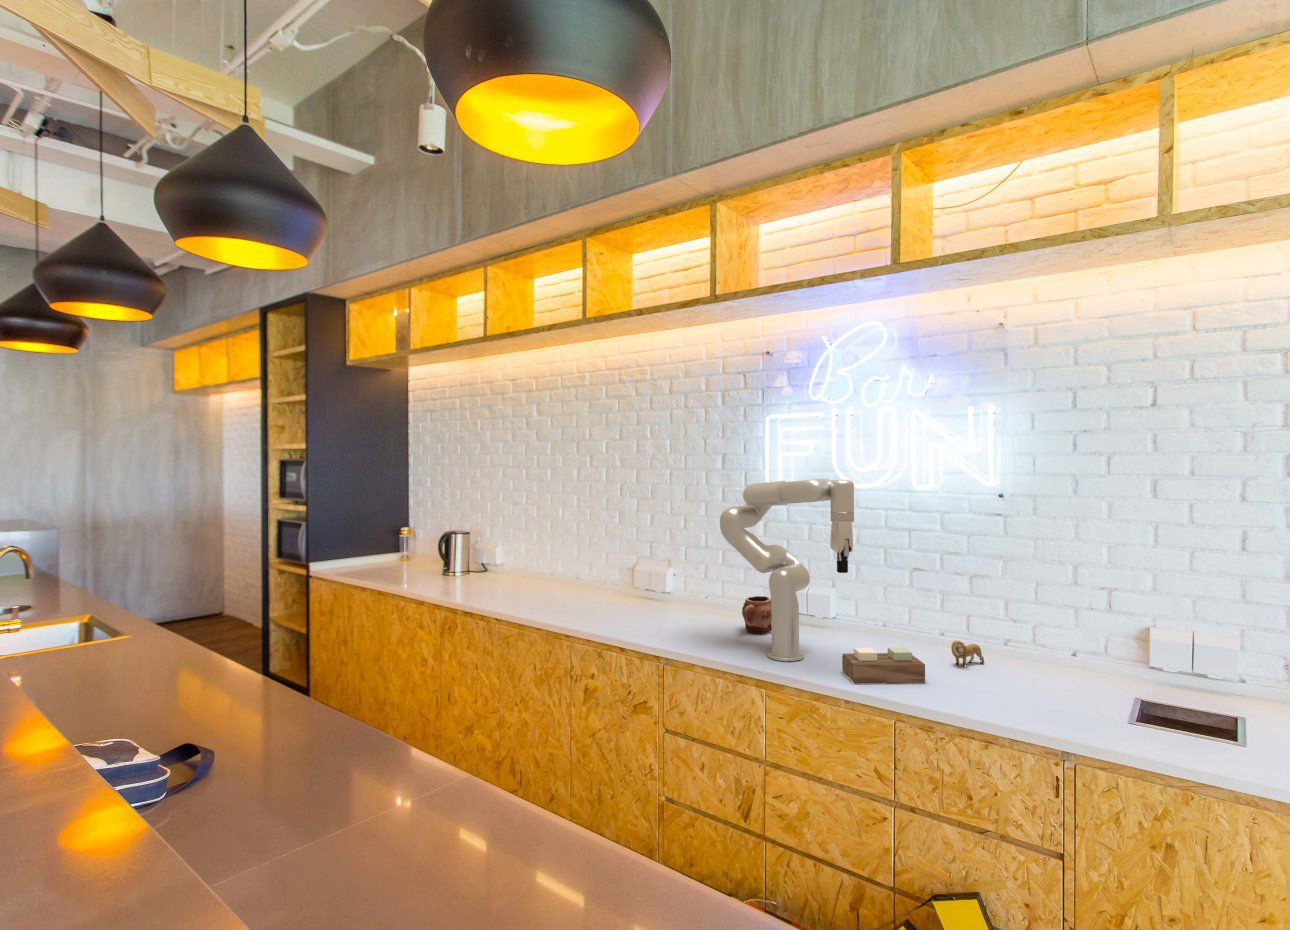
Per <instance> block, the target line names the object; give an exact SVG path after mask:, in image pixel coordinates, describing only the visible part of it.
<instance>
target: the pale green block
mask: <svg viewBox="0 0 1290 930" xmlns="http://www.w3.org/2000/svg"><path fill="white" fill-rule="evenodd" d="M887 653H888V656H889V657H891V658H892V659H893V660H894V661H908V660H912V655H913V652H912V651H911V650H910V649H908V648H906V647H905V646H904V647H903V646H902V647H887Z"/></svg>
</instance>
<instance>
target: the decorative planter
mask: <svg viewBox="0 0 1290 930" xmlns="http://www.w3.org/2000/svg"><path fill="white" fill-rule="evenodd" d="M741 615H742V617H743V620H744V621H743V622H744V625H745V630H746V632H747V633H749V632H750V633H749V634H753V633H755V635H764V634H765V633H766V634H770V633H772V613H771V597H769V596H759V595H758V596H757V595H755V596H750V597H749V596H748V597H746V599H745V601H744V604H743V606H742V609H741ZM766 634H765V635H766Z"/></svg>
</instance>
